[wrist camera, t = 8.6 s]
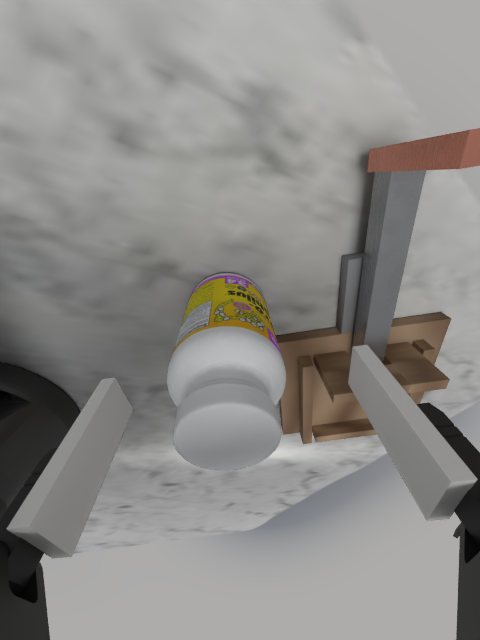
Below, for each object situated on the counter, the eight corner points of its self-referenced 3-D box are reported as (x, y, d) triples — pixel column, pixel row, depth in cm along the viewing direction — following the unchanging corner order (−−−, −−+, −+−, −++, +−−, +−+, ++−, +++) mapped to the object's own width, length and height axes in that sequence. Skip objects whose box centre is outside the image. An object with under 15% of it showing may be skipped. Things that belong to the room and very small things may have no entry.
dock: (281, 425, 30) (293, 478, 25) (268, 266, 20) (285, 299, 14) (408, 408, 30) (447, 458, 25) (466, 236, 19) (558, 259, 14)
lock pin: (346, 352, 23) (389, 415, 17) (369, 149, 15) (470, 129, 9) (377, 348, 23) (432, 409, 17) (419, 141, 15) (555, 115, 9)
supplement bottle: (278, 309, 22) (333, 444, 11) (223, 348, 24) (222, 496, 13) (230, 253, 19) (237, 357, 8) (173, 302, 21) (114, 441, 10)
